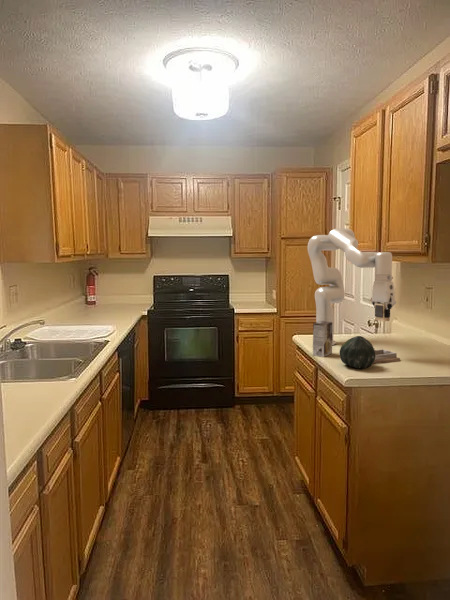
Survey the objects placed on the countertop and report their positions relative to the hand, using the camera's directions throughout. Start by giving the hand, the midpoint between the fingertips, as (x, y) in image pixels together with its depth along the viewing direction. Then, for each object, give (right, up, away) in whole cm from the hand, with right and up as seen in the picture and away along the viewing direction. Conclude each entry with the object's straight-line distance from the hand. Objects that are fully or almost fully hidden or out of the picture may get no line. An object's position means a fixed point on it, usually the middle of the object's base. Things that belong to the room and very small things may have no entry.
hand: (382, 316), depth 202 cm
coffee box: (-26, -20, +10) cm, 34 cm away
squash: (-16, -22, -13) cm, 30 cm away
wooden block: (0, -2, 0) cm, 2 cm away
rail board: (-3, -20, -1) cm, 20 cm away
